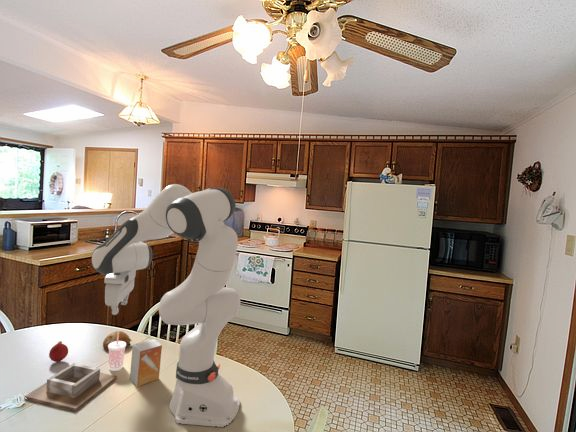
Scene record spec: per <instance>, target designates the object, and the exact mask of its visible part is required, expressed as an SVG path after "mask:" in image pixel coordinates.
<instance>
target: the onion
mask: <svg viewBox="0 0 576 432" xmlns="http://www.w3.org/2000/svg"><path fill="white" fill-rule="evenodd" d="M56 343H57V344H54V345H53V347H51V348H50V350H49V353H48V357H49V359H50V360H51V361H53V362H56V363H60V362H62V361H63V360H64V359H65V358H66V357H67V356H68V355H69V348H68V346H67V345H66V344H64V343H63V341H61V340H60V341H58V342H56Z"/></svg>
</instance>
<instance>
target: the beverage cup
mask: <svg viewBox="0 0 576 432" xmlns="http://www.w3.org/2000/svg"><path fill="white" fill-rule="evenodd" d="M117 331H118V332H117V341H114V342H111V343H110V344H109V345H108V349H109V351H108V370H109V371H112V372H115V371H120V370H121V369H122V368H123V366H124V359H125V352H126V351H125V350H126V349H125V347H126V342H124V341H118V338H119V331H120V330H117Z"/></svg>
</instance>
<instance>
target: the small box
mask: <svg viewBox="0 0 576 432" xmlns="http://www.w3.org/2000/svg"><path fill="white" fill-rule="evenodd" d="M162 348H163V346H162V343H160V342H159V341H158V340H157V339H155V338H152V339H149V340H144V341H141V342H138V343H134V344H132V348H131V362H130V373H129V374H130V376H129V380H130V382H132V383H133V384H134V385H135V387H136V388H138V387H141V386H143V385H146V384H148V383H151V382H153V381H154V382H155V381H158V380H159V379H160V369H161V358H162V351H163V349H162Z"/></svg>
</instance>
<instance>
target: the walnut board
mask: <svg viewBox="0 0 576 432" xmlns="http://www.w3.org/2000/svg"><path fill="white" fill-rule="evenodd" d="M116 380H117V375H114V374H108V373H104V372H101V369H100V368H98V367H94V366H89V365H85V364H84V365H83V364H79V363H75V362H73V363H71V364H70V365H68V366H66V367H65V368H64V369H62V370H60V371H59V372H57V373H55V374H54V375H52V376H50V377H49V378H47V379H46V382H45V383H43V384H42V385H40V386H39V387H37V388H35V389H34V390H33V391H31V392H29V393H28V394H26V395H24V398H25V397H26V398H27V399H28V400H27V401H29V402H30V401H31V402H35V403H38V404H42V405H43V404H44V405H47V406H50V407H55V408H59V409H64V410H67V411H71V412H77V411H78V410H79V409H80V408H82V407H83V406H84V405H85V404H87V403H88V402H89V401H91V400H92V399H93V398H95V397H96V396H97V395H98V394H99V393H101V392H102V391H103V390H105V389H106V388H107V387H108V386H109V385H111V384H112V383H113V382H114V381H116Z"/></svg>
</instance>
